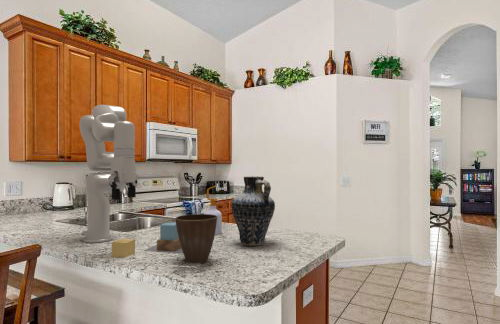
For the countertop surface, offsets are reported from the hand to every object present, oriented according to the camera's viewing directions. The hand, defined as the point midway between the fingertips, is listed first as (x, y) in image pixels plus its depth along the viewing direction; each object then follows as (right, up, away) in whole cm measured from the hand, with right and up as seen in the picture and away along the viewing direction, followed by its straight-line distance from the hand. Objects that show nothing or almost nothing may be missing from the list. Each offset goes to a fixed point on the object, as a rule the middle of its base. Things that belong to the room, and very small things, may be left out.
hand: (124, 198), depth 123 cm
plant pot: (+29, -22, -8) cm, 37 cm away
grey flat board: (+16, -22, +9) cm, 29 cm away
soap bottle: (+29, -23, +43) cm, 57 cm away
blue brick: (+16, -18, +9) cm, 25 cm away
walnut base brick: (+16, -22, +9) cm, 28 cm away
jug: (+50, -23, +19) cm, 58 cm away
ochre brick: (0, -22, 0) cm, 22 cm away
